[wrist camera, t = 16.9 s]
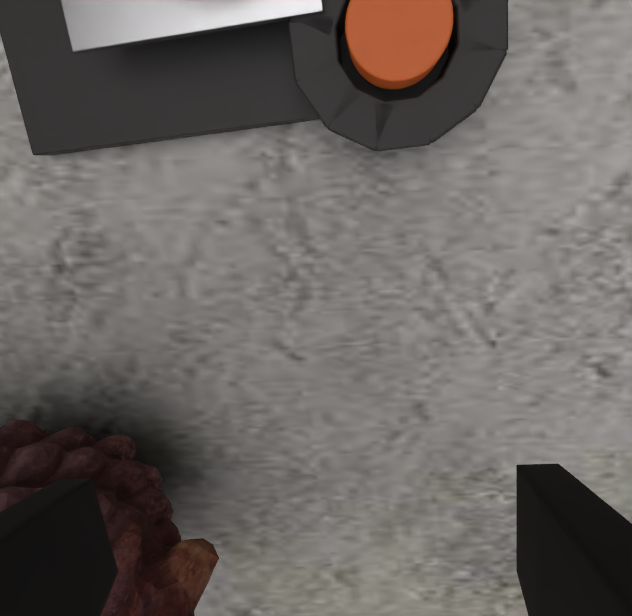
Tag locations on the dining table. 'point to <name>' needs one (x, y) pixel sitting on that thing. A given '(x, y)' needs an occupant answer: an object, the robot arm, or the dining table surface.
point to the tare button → (397, 39)
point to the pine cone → (114, 514)
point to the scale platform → (169, 19)
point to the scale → (239, 81)
